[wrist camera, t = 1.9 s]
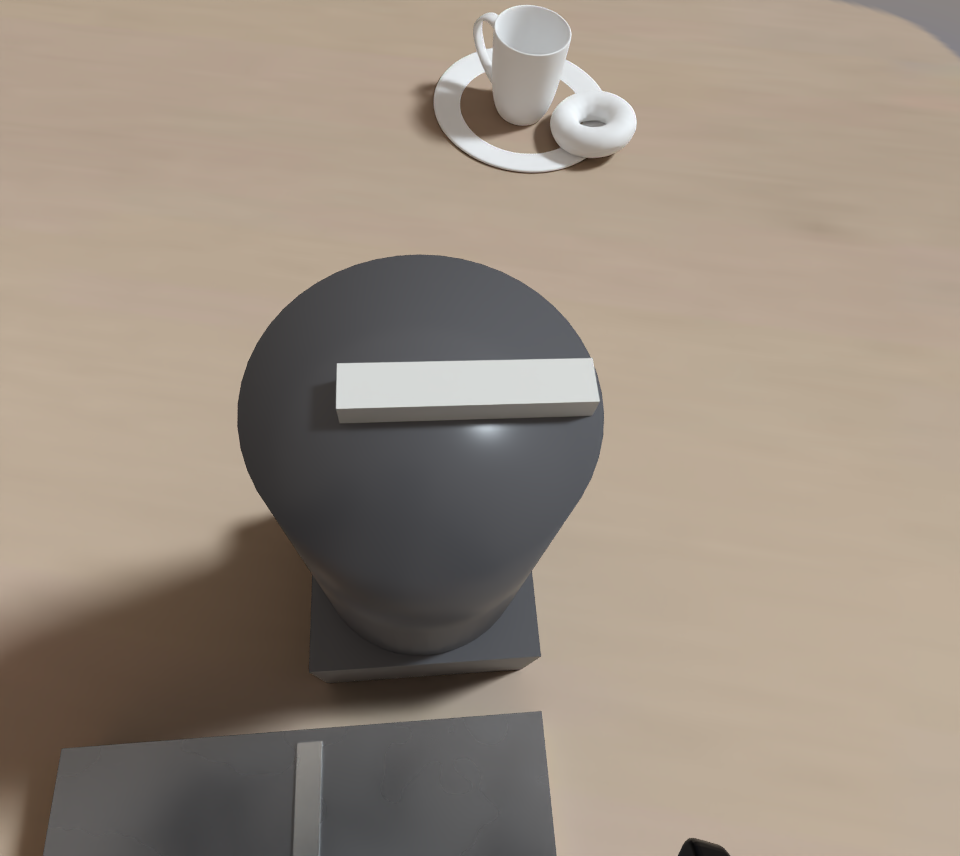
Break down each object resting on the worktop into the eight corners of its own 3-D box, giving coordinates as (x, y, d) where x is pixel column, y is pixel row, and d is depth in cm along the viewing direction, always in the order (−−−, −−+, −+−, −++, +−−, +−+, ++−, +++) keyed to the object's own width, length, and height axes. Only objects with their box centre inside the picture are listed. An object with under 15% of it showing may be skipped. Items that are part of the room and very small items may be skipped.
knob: (327, 683, 19) (189, 603, 8) (331, 497, 21) (231, 225, 10) (521, 669, 19) (660, 576, 8) (504, 490, 22) (595, 225, 10)
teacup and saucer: (652, 153, 30) (685, 70, 26) (507, 219, 27) (521, 138, 24) (541, 38, 32) (556, -51, 29) (400, 89, 30) (397, -2, 26)
